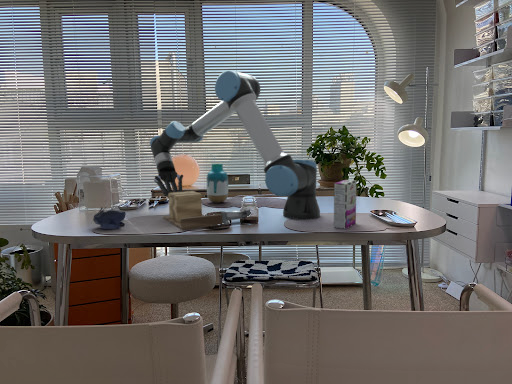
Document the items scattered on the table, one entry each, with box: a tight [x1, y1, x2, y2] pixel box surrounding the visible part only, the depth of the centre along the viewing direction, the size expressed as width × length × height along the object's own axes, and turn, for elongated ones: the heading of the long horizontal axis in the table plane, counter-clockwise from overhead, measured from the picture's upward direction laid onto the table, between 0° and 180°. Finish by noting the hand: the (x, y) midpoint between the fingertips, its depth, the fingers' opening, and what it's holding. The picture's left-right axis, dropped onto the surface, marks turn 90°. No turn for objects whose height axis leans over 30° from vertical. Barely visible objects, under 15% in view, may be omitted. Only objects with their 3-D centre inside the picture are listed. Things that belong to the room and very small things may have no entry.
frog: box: [92, 206, 127, 230], centre depth 146 cm, size 10×12×8 cm
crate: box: [167, 190, 203, 222], centre depth 158 cm, size 10×10×10 cm
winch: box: [219, 208, 252, 224], centre depth 153 cm, size 15×6×5 cm, turn 119°
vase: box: [206, 163, 229, 204], centre depth 197 cm, size 11×11×19 cm
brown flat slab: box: [163, 213, 223, 231], centre depth 153 cm, size 23×15×4 cm, turn 29°
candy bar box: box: [333, 179, 357, 230], centre depth 146 cm, size 11×5×16 cm, turn 148°
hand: (177, 207), depth 167 cm, fingers closed
